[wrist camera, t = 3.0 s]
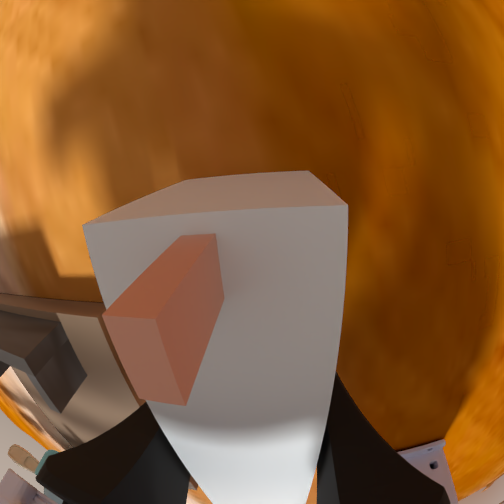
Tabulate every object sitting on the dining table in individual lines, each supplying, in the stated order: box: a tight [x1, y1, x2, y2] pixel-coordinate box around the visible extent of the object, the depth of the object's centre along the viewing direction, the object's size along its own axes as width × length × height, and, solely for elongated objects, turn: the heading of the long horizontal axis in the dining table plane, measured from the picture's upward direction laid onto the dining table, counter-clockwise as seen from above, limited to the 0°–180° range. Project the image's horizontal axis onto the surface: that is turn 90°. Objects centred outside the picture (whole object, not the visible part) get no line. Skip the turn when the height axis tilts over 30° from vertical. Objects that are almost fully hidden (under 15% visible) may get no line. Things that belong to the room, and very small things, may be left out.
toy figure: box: [8, 444, 63, 504], centre depth 15 cm, size 17×10×15 cm, turn 94°
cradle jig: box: [0, 293, 198, 490], centre depth 13 cm, size 19×13×4 cm
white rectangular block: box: [82, 171, 348, 504], centre depth 8 cm, size 14×4×8 cm, turn 5°
